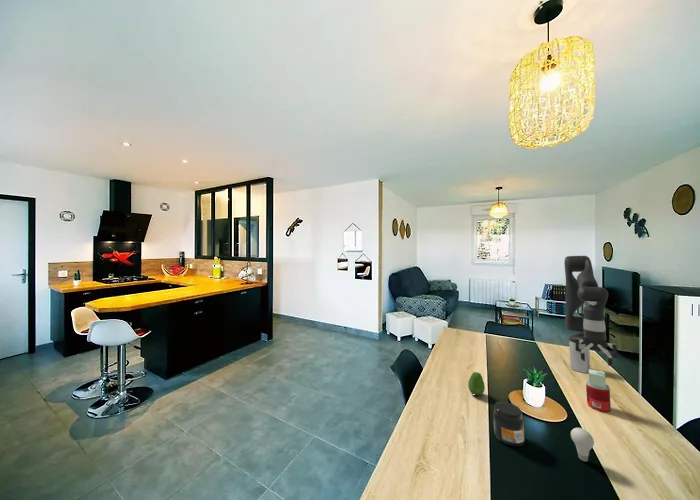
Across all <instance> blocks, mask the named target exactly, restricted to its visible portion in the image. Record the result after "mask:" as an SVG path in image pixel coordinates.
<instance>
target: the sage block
mask: <svg viewBox="0 0 700 500" xmlns="http://www.w3.org/2000/svg"><path fill="white" fill-rule="evenodd" d="M606 380H607V379H606V373H605V372H604V371H600V370H595V369H593V368H592V369H589V373H588V381H589V385H593V386H597V387H601V388H606V385H607V384H606Z"/></svg>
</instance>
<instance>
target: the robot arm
mask: <svg viewBox="0 0 700 500" xmlns="http://www.w3.org/2000/svg"><path fill="white" fill-rule="evenodd" d="M563 264H564V273H565V290H564V291H565V293H564V294H565V314H564V315H565V317H564V321H565V322H564V324H565V328H566V329H567V330H569V331H574V332H579V333H577V334H571V335H569V336H568V343H569V344H568V345H569V362H570V364H569V365H570V368H571V370H573V371H576V372H579V373H583V374H589V369H591V355H590V353H591V352H590V351H597V352H602V353H604V354H605V355H606V356H607V366H609V367H611V366H612V365H613V359H614V358H616V359H617V358H618V357H619V356H618V355H619V354H618V349H617V344H616V343H615V342H612V343H611V342H610V343H609V342H607V335H606V333H607V331H606V329H607V328H606V323H605V307H606V303H607V301H608V298H609V292H608V290H607V289H606V288H604V287H601V286H599V284H598V282H597V280H596V278H595V276H594V275H595V274H594V269H593V265H592V264H593V263H592V260H591V259H590V257H589V256H587V255H568V256H565V258H564V263H563ZM575 272H576V273H578V275H577V276H576V277H575V276H574V273H575ZM586 302H590V303H591V302H593V303H595V304H594V305H586V306H584V307H583V309H582V313H583V316H581V315H574V314H575V313H576V311H577V310H579V309H580V308H581V307H582V306H583V305H584V304H585V303H586ZM607 347H609V348H610V349H612V353H611V352H609V350H608V349H607Z"/></svg>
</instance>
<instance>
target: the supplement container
mask: <svg viewBox="0 0 700 500" xmlns="http://www.w3.org/2000/svg"><path fill="white" fill-rule="evenodd" d="M492 415H493V416H492V417H493V428H494V429H493V432H494V435H496V436H495V437H496V438H497V440H499V441H500V442H501V441H502V443H503V444H505V445H507V444H508V445H507V446H510V445H511V446H510V447H522V446H523V445H524V444H525V442H526V441H525V428H524V427H525V426H524V424H525V420H524V418H523V412H522V410H521V408H520V407H518V406H517V405H515V404H513V403H511V402H508V401H497V402H495V403H494V405H493V412H492Z"/></svg>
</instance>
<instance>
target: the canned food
mask: <svg viewBox="0 0 700 500" xmlns="http://www.w3.org/2000/svg"><path fill="white" fill-rule="evenodd" d="M585 386H586V387H585V389H586V390H585V391H586V403H587V406H588V407H589V408H591V409H592V410H595V411H596V412H597V411H598V412H601V413H610V412H611V408H612V407H611V390H610V386H609V385H608V384H606V388H601V387H597V386H593V385H589V380H586V381H585Z"/></svg>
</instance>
